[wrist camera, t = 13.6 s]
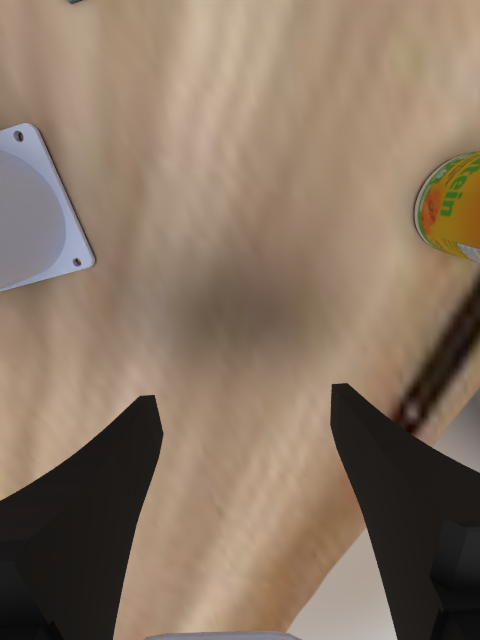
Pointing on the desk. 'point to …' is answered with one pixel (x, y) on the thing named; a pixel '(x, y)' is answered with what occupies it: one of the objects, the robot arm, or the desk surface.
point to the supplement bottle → (452, 207)
